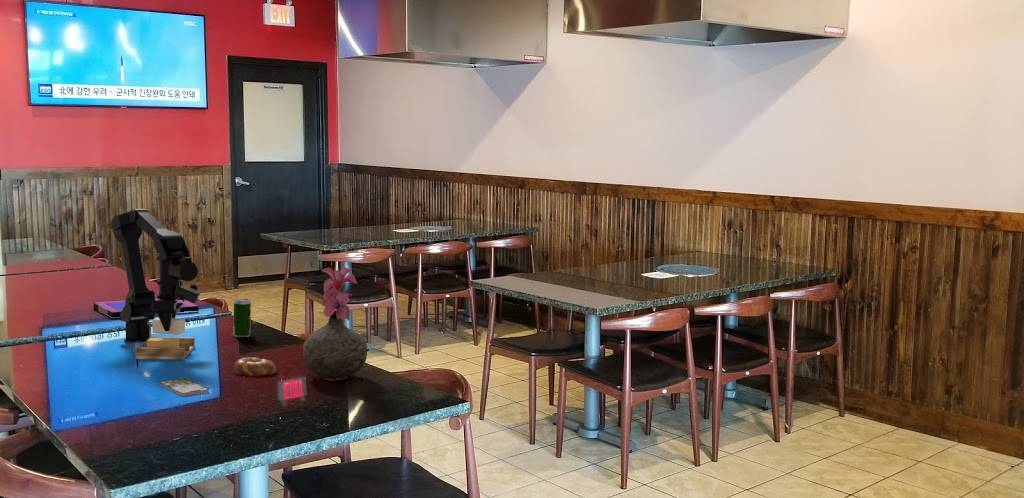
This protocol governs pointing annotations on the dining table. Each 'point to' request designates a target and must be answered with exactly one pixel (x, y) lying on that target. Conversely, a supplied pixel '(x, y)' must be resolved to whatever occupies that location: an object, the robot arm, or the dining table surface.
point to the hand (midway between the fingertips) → (168, 329)
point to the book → (117, 306)
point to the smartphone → (184, 387)
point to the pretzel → (254, 367)
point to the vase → (335, 334)
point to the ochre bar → (163, 343)
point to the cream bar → (175, 326)
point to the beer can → (242, 318)
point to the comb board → (166, 350)
